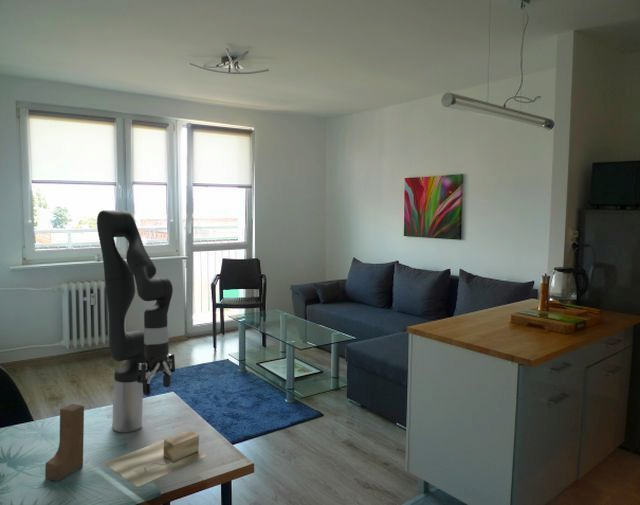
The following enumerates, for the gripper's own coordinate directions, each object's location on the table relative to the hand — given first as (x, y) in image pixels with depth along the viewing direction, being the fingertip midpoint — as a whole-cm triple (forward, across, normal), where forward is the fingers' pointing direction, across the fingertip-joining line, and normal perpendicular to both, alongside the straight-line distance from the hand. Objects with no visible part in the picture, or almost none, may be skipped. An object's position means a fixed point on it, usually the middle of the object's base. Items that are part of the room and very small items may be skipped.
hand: (157, 390), depth 150 cm
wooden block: (+17, +25, -10) cm, 32 cm away
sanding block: (+17, +3, +12) cm, 21 cm away
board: (+18, +9, +8) cm, 22 cm away
